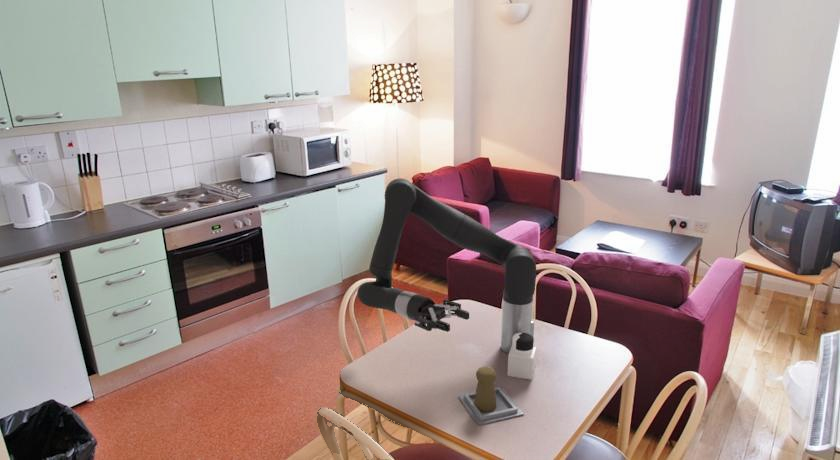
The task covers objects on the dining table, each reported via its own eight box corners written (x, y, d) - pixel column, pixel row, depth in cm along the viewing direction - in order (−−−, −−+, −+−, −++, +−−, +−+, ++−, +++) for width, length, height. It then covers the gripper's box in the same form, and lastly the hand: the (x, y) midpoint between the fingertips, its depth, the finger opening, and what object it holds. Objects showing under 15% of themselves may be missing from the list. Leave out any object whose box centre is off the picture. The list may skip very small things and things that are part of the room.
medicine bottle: (535, 367, 166) (537, 332, 163) (531, 380, 160) (533, 343, 156) (511, 363, 169) (513, 328, 165) (507, 376, 162) (508, 339, 158)
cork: (495, 413, 145) (497, 377, 141) (472, 411, 146) (473, 374, 142) (497, 400, 150) (498, 364, 147) (475, 397, 151) (475, 362, 148)
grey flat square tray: (501, 388, 156) (501, 383, 156) (523, 415, 145) (523, 410, 144) (458, 397, 152) (458, 392, 152) (478, 425, 141) (478, 421, 140)
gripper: (396, 303, 153) (442, 319, 143) (429, 286, 163) (474, 299, 153) (398, 327, 155) (443, 345, 145) (430, 309, 165) (474, 324, 155)
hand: (459, 321), depth 149 cm, fingers open, 8 cm apart
